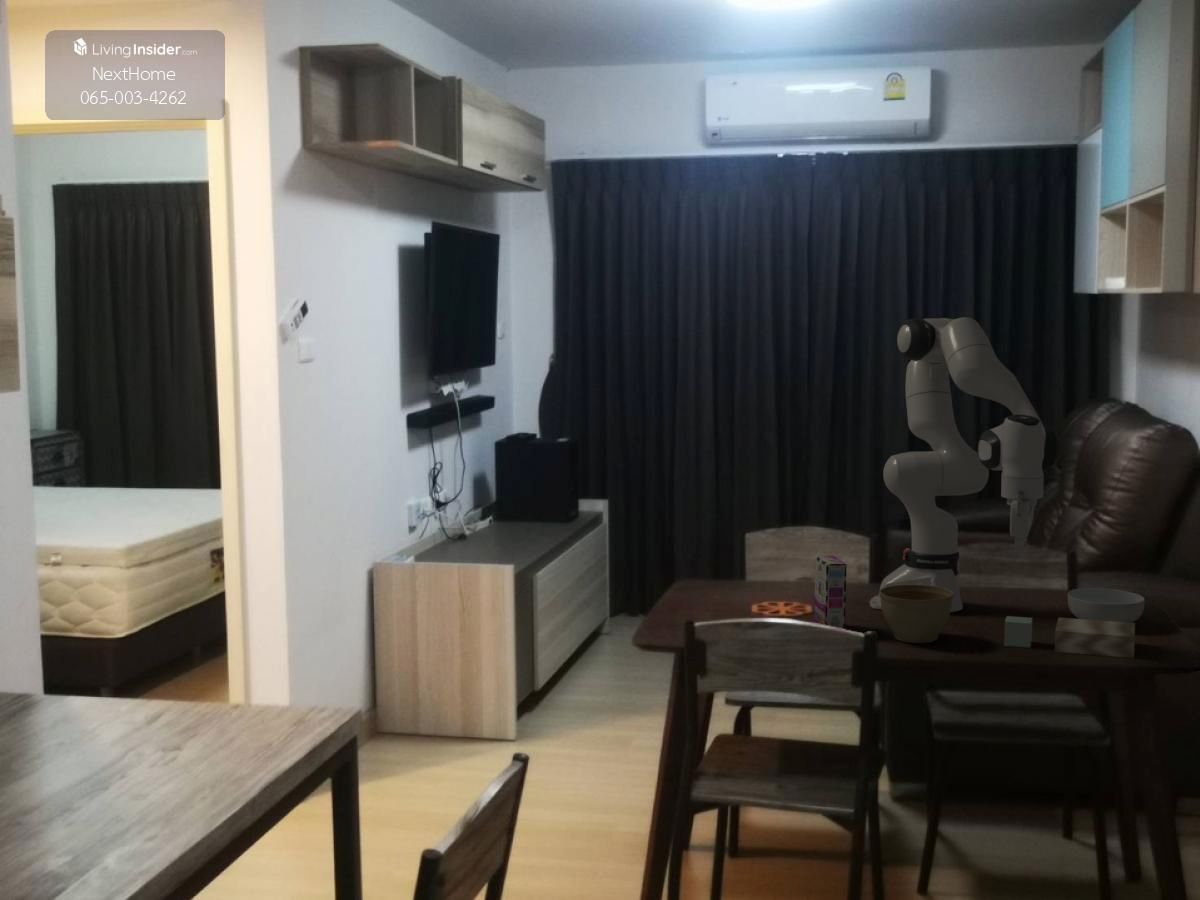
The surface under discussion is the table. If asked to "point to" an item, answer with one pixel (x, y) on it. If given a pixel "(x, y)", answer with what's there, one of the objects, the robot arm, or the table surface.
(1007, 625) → the sage block
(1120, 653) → the birch riser
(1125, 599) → the cereal bowl
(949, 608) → the planter bowl
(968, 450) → the robot arm
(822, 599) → the candy bar box
